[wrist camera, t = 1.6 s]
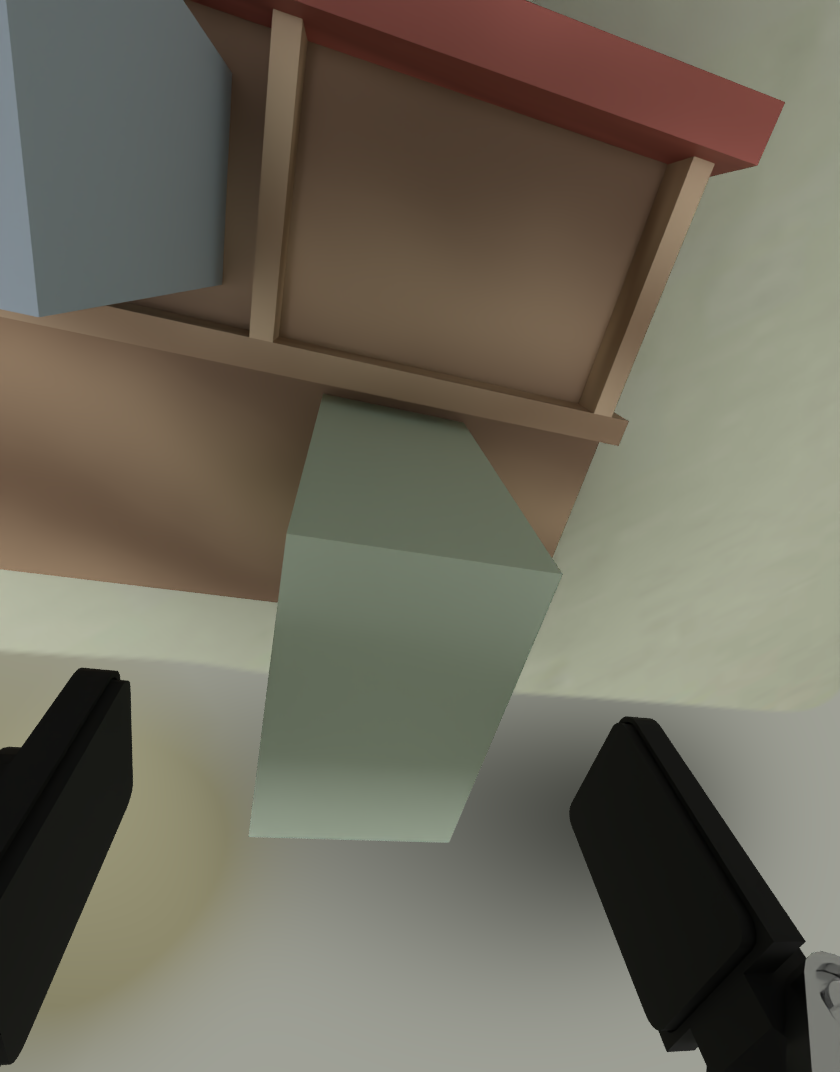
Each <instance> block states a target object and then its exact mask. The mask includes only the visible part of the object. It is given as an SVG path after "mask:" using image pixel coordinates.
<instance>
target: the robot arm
mask: <svg viewBox="0 0 840 1072" xmlns="http://www.w3.org/2000/svg"><path fill="white" fill-rule="evenodd" d="M132 787H133V769H132V732H131V692H130V682H129V681H124V680H120V674H119V672H118V671H112V670H100V669H90V668H80V669H78V670H77V671H76V672H75V673H74V674H73V675H72V677H71V678H70V680H69V681H68V683H67V684H66V685H65V687H64V688H63V690H62V691H61V692H60V694H59V695H58V697H57V698H56V699H55V701H54V702H53V704H52V705H51V706H50V708H49V709H48V711H47V712H46V713H45V715H44V716H43V718H42V719H41V721H40V722H39V724H38V725H37V726H36V727H35V729H34V730H33V732H32V733H31V734H30V736H29V737H28V739H27V740H26V742H25V743H24V744H23V746H22V747H6V748H2V749H1V750H0V1066H1V1065H7V1064H8V1065H9V1064H12V1063H14V1061H15V1060H16V1059H17V1057H18V1056H19V1054H20V1052H21V1050H22V1048H23V1046H24V1044H25V1042H26V1040H27V1037H28V1035H29V1033H30V1030H31V1028H32V1026H33V1024H34V1021H35V1019H36V1017H37V1014H38V1012H39V1010H40V1007H41V1005H42V1003H43V1000H44V998H45V996H46V994H47V991H48V989H49V987H50V984H51V982H52V980H53V977H54V975H55V973H56V970H57V968H58V965H59V963H60V961H61V959H62V956H63V954H64V952H65V949H66V947H67V945H68V943H69V940H70V938H71V936H72V933H73V931H74V929H75V926H76V924H77V922H78V919H79V917H80V915H81V913H82V910H83V908H84V905H85V903H86V901H87V898H88V896H89V894H90V892H91V889H92V887H93V885H94V882H95V880H96V878H97V876H98V873H99V871H100V869H101V866H102V864H103V862H104V859H105V857H106V855H107V852H108V850H109V848H110V845H111V843H112V841H113V838H114V836H115V834H116V832H117V829H118V827H119V825H120V822H121V820H122V818H123V815H124V813H125V811H126V808H127V806H128V803H129V800H130V797H131V793H132ZM569 812H570V822H571V825H572V828H573V830H574V833H575V835H576V838H577V841H578V843H579V846H580V848H581V850H582V853H583V856H584V858H585V861H586V863H587V866H588V869H589V871H590V874H591V876H592V879H593V881H594V884H595V887H596V889H597V892H598V894H599V897H600V899H601V902H602V904H603V907H604V910H605V912H606V915H607V917H608V919H609V922H610V925H611V927H612V930H613V932H614V935H615V937H616V940H617V943H618V945H619V948H620V950H621V953H622V956H623V958H624V960H625V963H626V966H627V968H628V971H629V973H630V976H631V979H632V981H633V984H634V986H635V989H636V991H637V994H638V996H639V999H640V1001H641V1004H642V1007H643V1009H644V1012H645V1014H646V1016H647V1018H648V1020H649V1022H650V1023H651V1025H652V1026H653V1027H654V1028H655V1029H656V1030H658V1031H659V1033H660V1036H661V1038H662V1041H663V1043H664V1046H665V1048H666V1051H667V1052H674V1051H690V1050H695V1049H696V1048H697V1047H699V1049H700V1052H701V1054H702V1056H703V1058H704V1061H705V1063H706V1065H707V1069H706V1072H840V957H839V956H837V955H835V954H831V953H827V952H823V951H821V952H815V953H811V954H810V955H809V956H808V957H807V958H806V957H805V956H804V954H803V953H802V951H801V950H800V948H799V947H800V946H801V945H802V944H804V943H805V940H804V938H803V937H802V935H801V934H800V933H799V931H798V930H797V928H796V927H795V925H794V924H793V922H792V921H791V919H790V918H789V916H788V915H787V913H786V912H785V910H784V909H783V907H782V906H781V905H780V903H779V901H778V900H777V898H776V897H775V895H774V894H773V893H772V891H771V890H770V888H769V887H768V885H767V884H766V882H765V881H764V879H763V878H762V876H761V875H760V873H759V872H758V870H757V869H756V867H755V866H754V865H753V863H752V861H751V860H750V858H749V857H748V855H747V854H746V852H745V851H744V850H743V848H742V847H741V845H740V844H739V842H738V841H737V839H736V838H735V836H734V835H733V833H732V832H731V830H730V829H729V827H728V826H727V824H726V823H725V821H724V820H723V818H722V817H721V815H720V814H719V813H718V811H717V810H716V808H715V807H714V805H713V804H712V802H711V801H710V799H709V798H708V796H707V795H706V793H705V792H704V790H703V789H702V787H701V786H700V784H699V783H698V781H697V780H696V778H695V777H694V775H693V774H692V772H691V771H690V770H689V768H688V767H687V765H686V764H685V762H684V761H683V759H682V758H681V756H680V755H679V753H678V752H677V751H676V749H675V747H674V746H673V744H672V743H671V741H670V740H669V738H668V737H667V735H666V734H665V732H664V731H663V730H662V728H661V727H660V725H659V724H658V723H657V722H656V721H655V720H653V719H650V718H638V717H624V718H622V719H621V720H620V722H619V723H616V724H615V725H614V726H613V727H612V729H611V731H610V733H609V735H608V737H607V738H606V741H605V742H604V744H603V746H602V748H601V750H600V751H599V753H598V755H597V757H596V759H595V761H594V763H593V764H592V766H591V768H590V770H589V772H588V774H587V776H586V777H585V779H584V781H583V783H582V785H581V787H580V789H579V790H578V792H577V794H576V796H575V798H574V800H573V802H572V803H571V806H570V811H569Z"/></svg>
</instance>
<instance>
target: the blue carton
mask: <svg viewBox="0 0 840 1072" xmlns="http://www.w3.org/2000/svg"><path fill="white" fill-rule="evenodd" d="M231 87H232V72H231V71H230V69H229V68H228V66H227V65H226V63H225V62H224V60H223V59H222V57H221V56H220V54H219V53H218V51H217V50H216V48H215V47H214V45H213V44H212V42H211V41H210V39H209V38H208V36H207V35H206V33H205V32H204V31H203V29H202V28H201V26H200V25H199V23H198V22H197V20H196V19H195V17H194V16H193V14H192V13H191V11H190V10H189V8H188V7H187V5H186V4H185V2H184V1H183V0H0V309H2V310H7V311H11V312H16V313H21V314H26V315H30V316H35V317H44V316H49V315H55V314H60V313H66V312H72V311H77V310H83V309H88V308H94V307H100V306H105V305H111V304H117V303H122V302H128V301H133V300H139V299H145V298H150V297H156V296H161V295H167V294H173V293H178V292H184V291H189V290H195V289H201V288H206V287H212V286H217V285H222V276H223V255H224V234H225V213H226V192H227V171H228V150H229V129H230V108H231Z"/></svg>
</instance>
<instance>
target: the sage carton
mask: <svg viewBox="0 0 840 1072" xmlns="http://www.w3.org/2000/svg"><path fill="white" fill-rule="evenodd" d="M562 575H563V574H562V573H561V571H560V570H559V568H558V567H557V565H556V563H555V562H554V560H553V559H552V557H551V556H550V554H549V553H548V551H547V550H546V548H545V547H544V545H543V544H542V542H541V540H540V539H539V537H538V536H537V534H536V533H535V531H534V530H533V528H532V527H531V525H530V524H529V522H528V521H527V519H526V517H525V516H524V514H523V513H522V511H521V510H520V508H519V507H518V505H517V504H516V502H515V501H514V499H513V498H512V496H511V494H510V493H509V491H508V490H507V488H506V487H505V485H504V484H503V482H502V481H501V479H500V478H499V476H498V474H497V473H496V471H495V470H494V468H493V467H492V465H491V464H490V462H489V461H488V459H487V458H486V456H485V455H484V453H483V451H482V450H481V448H480V447H479V445H478V444H477V442H476V441H475V439H474V438H473V436H472V435H471V433H470V432H469V430H468V428H467V427H466V425H465V424H464V423H463V422H458V421H453V420H449V419H444V418H439V417H434V416H429V415H424V414H419V413H414V412H410V411H405V410H400V409H395V408H390V407H385V406H380V405H375V404H370V403H366V402H361V401H356V400H351V399H346V398H341V397H336V396H331V395H327V394H323V396H322V400H321V404H320V407H319V411H318V415H317V419H316V423H315V427H314V430H313V434H312V438H311V442H310V446H309V450H308V453H307V457H306V461H305V465H304V469H303V472H302V476H301V480H300V484H299V488H298V492H297V495H296V499H295V503H294V507H293V511H292V514H291V518H290V522H289V526H288V530H287V534H286V542H285V550H284V558H283V566H282V574H281V582H280V590H279V598H278V606H277V614H276V622H275V630H274V638H273V646H272V654H271V662H270V670H269V678H268V686H267V694H266V702H265V710H264V718H263V726H262V734H261V742H260V750H259V758H258V766H257V774H256V782H255V790H254V798H253V805H252V814H251V821H250V822H251V823H250V830H249V837H275V838H307V839H342V840H377V841H378V840H379V841H413V842H447V843H448V842H449V841H450V839H451V837H452V834H453V832H454V829H455V827H456V825H457V822H458V820H459V818H460V815H461V813H462V811H463V808H464V806H465V803H466V801H467V799H468V796H469V794H470V792H471V789H472V787H473V785H474V782H475V780H476V778H477V775H478V773H479V771H480V768H481V766H482V763H483V761H484V759H485V756H486V754H487V752H488V749H489V747H490V744H491V742H492V740H493V738H494V735H495V733H496V730H497V728H498V726H499V723H500V721H501V719H502V716H503V714H504V712H505V709H506V707H507V704H508V702H509V700H510V697H511V695H512V693H513V690H514V688H515V686H516V683H517V681H518V679H519V676H520V674H521V671H522V669H523V667H524V664H525V662H526V660H527V657H528V655H529V653H530V650H531V648H532V645H533V643H534V641H535V638H536V636H537V634H538V631H539V629H540V627H541V624H542V622H543V620H544V617H545V615H546V612H547V610H548V608H549V605H550V603H551V601H552V598H553V596H554V594H555V591H556V589H557V586H558V584H559V582H560V579H561V577H562Z"/></svg>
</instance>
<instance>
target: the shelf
mask: <svg viewBox="0 0 840 1072" xmlns="http://www.w3.org/2000/svg"><path fill="white" fill-rule="evenodd" d="M183 1H184V2H185V4H186V5H187V7H188V8H189V10H190V11H191V13H192V14H193V16H194V17H195V19H196V20H197V22H198V23H199V25H200V26H201V28H202V29H203V31H204V32H205V33H206V35H207V36H208V38H209V39H210V41H211V42H212V44H213V45H214V47H215V48H216V50H217V51H218V53H219V54H220V56H221V57H222V59H223V60H224V62H225V63H226V65H227V66H228V68H229V69H230V71H231V72H232V87H231V108H230V129H229V150H228V171H227V192H226V213H225V234H224V255H223V276H222V285H217V286H212V287H206V288H201V289H195V290H189V291H184V292H178V293H173V294H167V295H161V296H156V297H150V298H145V299H139V300H133V301H128V302H122V303H117V304H111V305H105V306H100V307H94V308H88V309H83V310H77V311H72V312H66V313H60V314H55V315H49V316H44V317H35V316H30V315H26V314H21V313H16V312H11V311H7V310H2V309H0V569H4V570H12V571H20V572H29V573H37V574H45V575H54V576H62V577H70V578H79V579H87V580H95V581H103V582H112V583H120V584H128V585H137V586H145V587H153V588H162V589H170V590H178V591H187V592H195V593H203V594H212V595H220V596H228V597H236V598H245V599H253V600H261V601H270V602H278V598H279V590H280V582H281V574H282V566H283V558H284V550H285V542H286V534H287V530H288V526H289V522H290V518H291V514H292V511H293V507H294V503H295V499H296V495H297V492H298V488H299V484H300V480H301V476H302V472H303V469H304V465H305V461H306V457H307V453H308V450H309V446H310V442H311V438H312V434H313V430H314V427H315V423H316V419H317V415H318V411H319V407H320V404H321V400H322V396H323V394H327V395H331V396H336V397H341V398H346V399H351V400H356V401H361V402H366V403H370V404H375V405H380V406H385V407H390V408H395V409H400V410H405V411H410V412H414V413H419V414H424V415H429V416H434V417H439V418H444V419H449V420H453V421H458V422H463V423H464V424H465V425H466V427H467V428H468V430H469V432H470V433H471V435H472V436H473V438H474V439H475V441H476V442H477V444H478V445H479V447H480V448H481V450H482V451H483V453H484V455H485V456H486V458H487V459H488V461H489V462H490V464H491V465H492V467H493V468H494V470H495V471H496V473H497V474H498V476H499V478H500V479H501V481H502V482H503V484H504V485H505V487H506V488H507V490H508V491H509V493H510V494H511V496H512V498H513V499H514V501H515V502H516V504H517V505H518V507H519V508H520V510H521V511H522V513H523V514H524V516H525V517H526V519H527V521H528V522H529V524H530V525H531V527H532V528H533V530H534V531H535V533H536V534H537V536H538V537H539V539H540V540H541V542H542V544H543V545H544V547H545V548H546V550H547V551H548V553H549V554H550V556H551V557H553V555H554V552H555V550H556V547H557V545H558V542H559V540H560V538H561V535H562V533H563V530H564V528H565V525H566V523H567V520H568V518H569V515H570V513H571V510H572V508H573V505H574V503H575V501H576V498H577V496H578V493H579V491H580V488H581V486H582V483H583V481H584V478H585V476H586V473H587V471H588V468H589V466H590V464H591V461H592V459H593V456H594V454H595V451H596V449H597V446H598V444H599V442H603V443H607V444H612V445H617V446H619V443H620V441H621V439H622V436H623V434H624V432H625V429H626V427H627V424H628V422H629V421H628V420H626V419H624V418H622V417H621V416H619V415H617V414H616V413H614V410H615V408H616V405H617V403H618V400H619V398H620V395H621V393H622V390H623V388H624V386H625V383H626V381H627V378H628V376H629V373H630V371H631V368H632V366H633V363H634V361H635V359H636V356H637V354H638V351H639V349H640V346H641V344H642V341H643V339H644V336H645V334H646V332H647V329H648V327H649V324H650V322H651V319H652V317H653V314H654V312H655V309H656V307H657V305H658V302H659V300H660V297H661V295H662V292H663V290H664V287H665V285H666V283H667V280H668V278H669V275H670V273H671V270H672V268H673V265H674V263H675V260H676V258H677V256H678V253H679V251H680V248H681V246H682V243H683V241H684V238H685V236H686V233H687V231H688V229H689V226H690V224H691V221H692V219H693V216H694V214H695V211H696V209H697V206H698V204H699V202H700V199H701V197H702V194H703V192H704V189H705V187H706V184H707V182H708V179H709V177H711V176H715V175H719V174H723V173H728V172H732V171H736V170H740V169H745V168H749V167H753V166H757V165H758V163H759V161H760V158H761V156H762V154H763V151H764V149H765V147H766V145H767V142H768V140H769V138H770V136H771V133H772V131H773V129H774V126H775V124H776V122H777V120H778V117H779V115H780V113H781V111H782V108H783V106H784V104H785V102H783V101H781V100H778V99H776V98H773V97H771V96H768V95H765V94H763V93H760V92H758V91H755V90H753V89H750V88H748V87H745V86H743V85H740V84H737V83H735V82H732V81H730V80H727V79H725V78H722V77H720V76H717V75H715V74H712V73H709V72H707V71H704V70H702V69H699V68H697V67H694V66H692V65H689V64H686V63H684V62H681V61H679V60H676V59H674V58H671V57H669V56H666V55H664V54H661V53H658V52H656V51H653V50H651V49H648V48H646V47H643V46H641V45H638V44H636V43H633V42H630V41H628V40H625V39H623V38H620V37H618V36H615V35H613V34H610V33H607V32H605V31H602V30H600V29H597V28H595V27H592V26H590V25H587V24H585V23H582V22H579V21H577V20H574V19H572V18H569V17H567V16H564V15H562V14H559V13H556V12H554V11H551V10H549V9H546V8H544V7H541V6H539V5H536V4H534V3H531V2H528V1H526V0H183Z"/></svg>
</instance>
